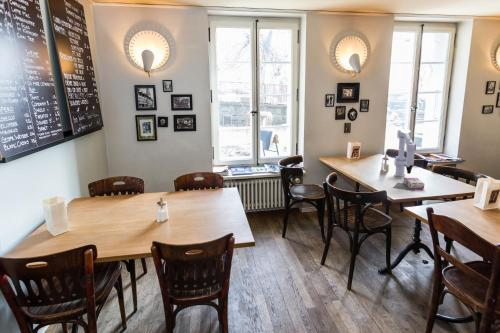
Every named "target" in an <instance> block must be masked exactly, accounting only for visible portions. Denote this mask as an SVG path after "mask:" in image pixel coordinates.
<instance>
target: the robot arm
mask: <svg viewBox="0 0 500 333" xmlns="http://www.w3.org/2000/svg"><path fill="white" fill-rule="evenodd" d="M411 134H412V131H411V129H398V130H397V137H396V138H397V139H399V140H398V141H399V143H398V153H397V154H398V155H397V156H396V157H395V158H394V162H393V163H394V164H393V165H394V166H395V174H394V175H393V176H395V177H400V178H402V177H403V178H405V177H404V176H406V174H408V175H410V174H411V173H412V169H413V167H414V166H415V165H414V162H415V151H416V150H417V144H416V143H415V142H414V141H413V139H412V138H411ZM405 146H406V147H405ZM405 148H406V156H405ZM405 168H406V173H405Z"/></svg>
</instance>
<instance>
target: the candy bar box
mask: <svg viewBox="0 0 500 333" xmlns="http://www.w3.org/2000/svg"><path fill="white" fill-rule="evenodd" d="M402 180H403V181H402V183H404V184H405V185H406V186H408V187H409V188H410V189H415V190H416V189H419V190H422V189H423V190H424V189H425V182H424V181H422V180H420V179H419V178H418V177H403V179H402Z"/></svg>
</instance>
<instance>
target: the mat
mask: <svg viewBox="0 0 500 333" xmlns="http://www.w3.org/2000/svg"><path fill="white" fill-rule="evenodd" d="M392 188H393V189H400V190H406V191H412V192H414V191H416V189H410V188H409V187H408V186H406V185H405V184H404V183H403V182H397V183H395V185H394V186H393V187H392Z"/></svg>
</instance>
